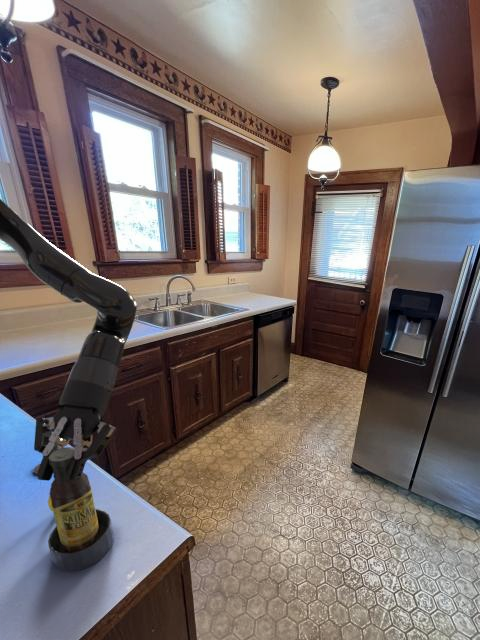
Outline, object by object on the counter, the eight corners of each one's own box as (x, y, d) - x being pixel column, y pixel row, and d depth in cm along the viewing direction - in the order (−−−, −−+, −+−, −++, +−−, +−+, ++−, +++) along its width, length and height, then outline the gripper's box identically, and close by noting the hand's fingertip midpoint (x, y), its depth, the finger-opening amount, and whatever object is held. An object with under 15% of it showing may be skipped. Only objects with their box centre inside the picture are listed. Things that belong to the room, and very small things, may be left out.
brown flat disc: (28, 472, 78) (28, 471, 78) (47, 460, 82) (46, 459, 82) (44, 476, 77) (44, 475, 77) (62, 464, 81) (62, 463, 81)
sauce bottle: (72, 560, 56) (45, 473, 48) (56, 541, 59) (28, 457, 51) (108, 535, 61) (89, 452, 53) (92, 519, 64) (71, 439, 56)
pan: (40, 562, 57) (34, 545, 55) (84, 520, 66) (80, 504, 64) (85, 578, 55) (80, 561, 53) (125, 532, 64) (121, 516, 62)
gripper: (40, 374, 55) (-3, 475, 49) (117, 382, 54) (84, 485, 48) (67, 388, 62) (33, 478, 56) (136, 395, 61) (109, 487, 55)
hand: (57, 481), depth 52 cm, fingers closed on sauce bottle, 4 cm apart
